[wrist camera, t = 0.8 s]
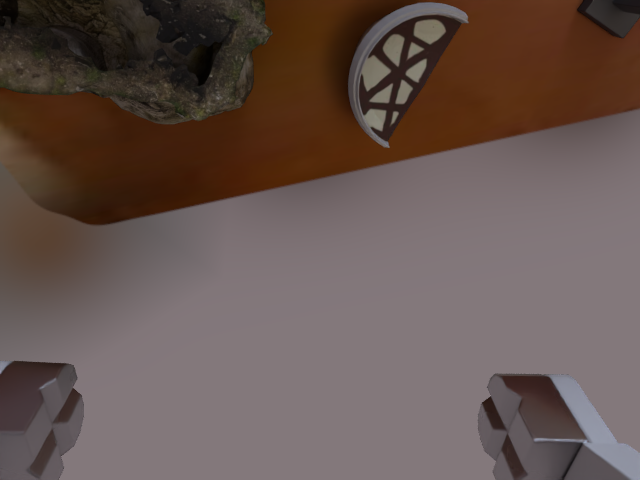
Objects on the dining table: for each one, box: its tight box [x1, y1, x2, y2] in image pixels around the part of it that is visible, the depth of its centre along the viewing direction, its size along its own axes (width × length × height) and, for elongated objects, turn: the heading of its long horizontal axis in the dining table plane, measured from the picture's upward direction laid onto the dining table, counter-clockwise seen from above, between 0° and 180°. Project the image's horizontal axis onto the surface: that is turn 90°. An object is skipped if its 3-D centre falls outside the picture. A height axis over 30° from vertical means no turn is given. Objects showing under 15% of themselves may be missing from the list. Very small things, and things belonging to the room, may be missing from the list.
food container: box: [348, 2, 469, 148], centre depth 42 cm, size 12×6×10 cm, turn 151°
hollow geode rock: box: [0, 0, 273, 124], centre depth 40 cm, size 28×13×15 cm
